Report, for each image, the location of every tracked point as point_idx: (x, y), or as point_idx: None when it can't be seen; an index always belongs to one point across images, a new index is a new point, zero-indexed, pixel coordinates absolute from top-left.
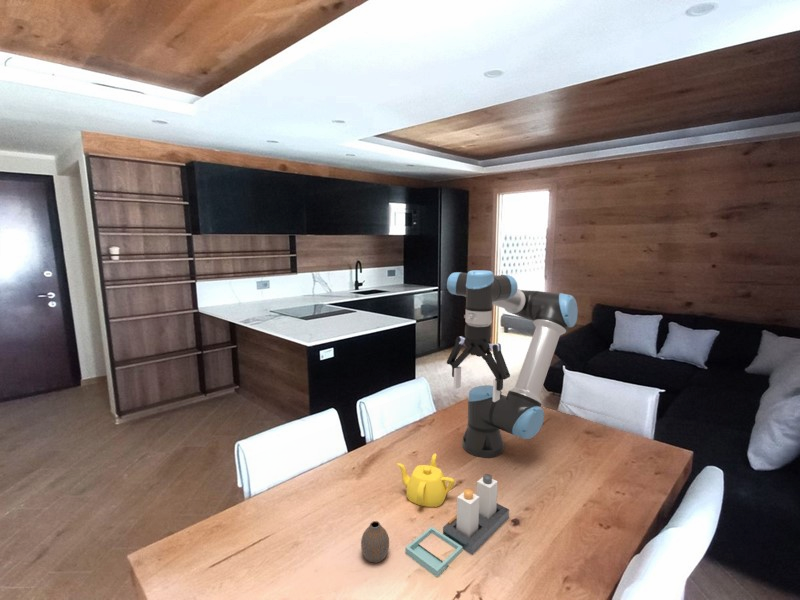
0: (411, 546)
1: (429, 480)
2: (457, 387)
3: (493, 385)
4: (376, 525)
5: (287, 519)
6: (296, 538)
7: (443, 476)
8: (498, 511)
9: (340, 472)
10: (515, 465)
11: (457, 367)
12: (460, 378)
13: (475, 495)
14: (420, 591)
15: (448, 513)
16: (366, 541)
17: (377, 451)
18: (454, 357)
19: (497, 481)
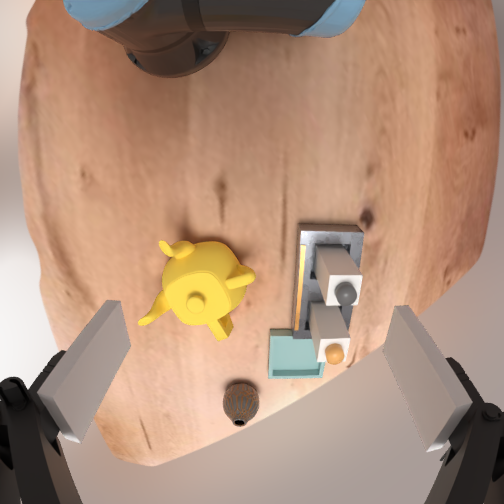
0: (272, 372)
1: (220, 316)
2: (125, 333)
3: (415, 420)
4: (230, 406)
5: (126, 401)
6: (160, 412)
7: (222, 270)
8: (350, 251)
9: (69, 314)
10: (281, 43)
11: (56, 418)
12: (96, 339)
13: (342, 339)
14: (314, 388)
15: (263, 279)
16: (241, 420)
17: (46, 229)
18: (3, 468)
19: (362, 276)
